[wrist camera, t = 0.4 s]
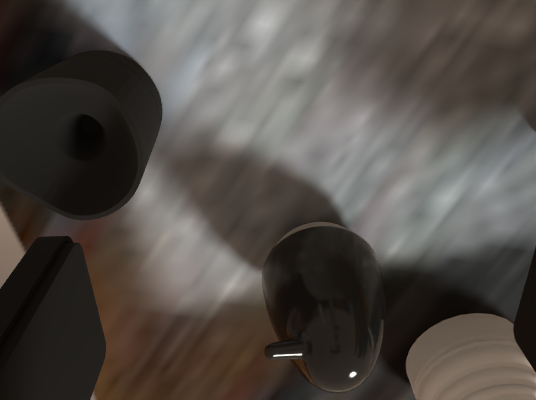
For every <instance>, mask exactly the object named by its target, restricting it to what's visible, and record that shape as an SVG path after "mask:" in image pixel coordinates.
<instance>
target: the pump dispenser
mask: <svg viewBox="0 0 536 400" xmlns="http://www.w3.org/2000/svg"><path fill="white" fill-rule="evenodd" d="M262 287H263V294H264V299H265V303H266V307H267V311H268V315H269V318H270V321H271V324H272V326H273V329H274V331H275V333H276V336H277V338H278V340H279V342H274V343H269V344H267V345H266V347H265V356H266V358H267V359H269V360H290V361H291V362H292V364H293V365H294V367H295V368H296V369H297V371H298V372H299V373H300V374H301V375H302V376H303V377H304V378H305V379H306V380H307V381H308V382H309V383H311V384H312V385H313V386H315V387H316V388H318V389H320V390H323V391H325V392H330V393H344V392H348V391H351V390H354V389H356V388H357V387H359V386H360V385H361V384H363V383H364V382H365V381H366V379H367V378H368V377H369V375H370V374H371V372H372V370H373V368H374V366H375V364H376V361H377V359H378V356H379V352H380V349H381V344H382V340H383V334H384V326H385V293H384V285H383V279H382V273H381V269H380V265H379V262H378V259H377V257H376V255H375V253H374V251H373V249H372V248H371V246H370V245H369V244H368V243H367V242H366V241H365V240H364V239H363V238H361V237H360V236H359V235H357V234H355V233H353V232H352V231H351V230H349V229H347V228H345V227H343V226H341V225H338V224H334V223H329V222H312V223H307V224H304V225H301V226H298V227H296V228H294V229H293V230H291V231H289V232H288V233H287V234H285V235H284V236H283V237H282V238H281V239H280V240H279V241H278V243H277V244H276V245H275V247H274V248H273V249H272V251H271V252H270V254H269V255H268V257H267V259H266V261H265V264H264V267H263V273H262Z"/></svg>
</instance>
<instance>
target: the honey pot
mask: <svg viewBox="0 0 536 400" xmlns="http://www.w3.org/2000/svg"><path fill="white" fill-rule="evenodd" d="M513 327H514V324H513V323H511V322H510V321H508V320H507V319H505V318H502V317H499V316H496V315H493V314H482V313H472V314H464V315H458V316H455V317H452V318H449V319H446V320H443V321H441V322H440V323H438V324H436V325H434V326H432V327H430V328H429V329H428V330H427V331H425V332H424V333H423V334H422V335H421V336H420V337H418V338H417V340H416V341H415V343H414V344H413V345H412V347H411V348H410V350H409V353H408V356H407V359H406V372H407V375H408V378H409V381H410V384H411V387H412V390H413V392H414V395H415V398H416V400H536V373H535V371H534V369H533V368H532V366H531V365H530V363H529V362H528V360H527V359H526V357H525V355H524V354H523V352H522V351H521V349H520V348H519V346H518V345H517V343H516V341H515V338H514V333H513Z"/></svg>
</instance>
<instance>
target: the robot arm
mask: <svg viewBox="0 0 536 400" xmlns="http://www.w3.org/2000/svg"><path fill="white" fill-rule="evenodd" d="M513 333H514V338H515V341H516V343H517V345H518V346H519V348H520V349H521V351H522V352H523V354H524V355H525V357H526V359H527V360H528V362H529V363H530V365H531V366H532V368H533V369H534V371H535V373H536V248H535V252H534V255H533V259H532V262H531V266H530V269H529V273H528V276H527V280H526V283H525V287H524V290H523V294H522V297H521V301H520V304H519V308H518V311H517V315H516V319H515V322H514V327H513ZM105 353H106V342H105V337H104V333H103V329H102V325H101V321H100V317H99V313H98V309H97V305H96V301H95V297H94V293H93V289H92V285H91V281H90V277H89V273H88V269H87V265H86V261H85V257H84V253H83V249H82V246H81V245H80V243H73V241H72V239H71V238H70V237H69V236H50V237H38V238H37V239H36V240H35V241H34V242H33V244H32V245H31V247H30V248H29V249H28V251H27V252H26V254H25V255H24V256H23V258H22V259H21V261H20V262H19V263H18V265H17V266H16V268H15V269H14V270H13V272H12V273H11V275H10V276H9V278H8V279H7V280H6V282H5V283H4V284H3V286H2V287H1V289H0V400H90V398H91V396H92V393H93V390H94V387H95V384H96V382H97V379H98V376H99V373H100V370H101V367H102V365H103V362H104V358H105Z"/></svg>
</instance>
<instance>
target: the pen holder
mask: <svg viewBox="0 0 536 400" xmlns="http://www.w3.org/2000/svg"><path fill="white" fill-rule="evenodd" d="M161 121H162V103H161V98H160V95H159V92H158V90H157V88H156V86H155V84H154V82H153V81H152V79H151V78H150V76H149V75H148V74H147V73H146V72H145V71H144V70H143V69H142V68H141V67H140V66H139V65H138V64H136V63H135V62H134V61H132V60H130V59H129V58H127V57H125V56H122V55H120V54H117V53H113V52H109V51H98V50H96V51H87V52H83V53H80V54H77V55H75V56H72V57H70V58H68V59H66V60H64V61H61V62H59V63H58V64H56V65H54V66H52V67H50V68H48V69H46V70H44V71H42V72H40V73H38V74H36V75H35V76H33V77H31V78H29V79H27V80H25V81H23V82H21V83H19V84H17V85H16V86H14V87H12V88H11V89H9V90H8V91H7V92H5V93H4V94H3V95H2V96H1V97H0V178H1V179H2V180H3V182H5V183H6V184H7V185H9V186H10V187H11V188H13V189H14V190H16V191H18V192H19V193H21V194H23V195H25V196H27V197H29V198H31V199H33V200H35V201H37V202H39V203H41V204H42V205H44V206H46V207H48V208H49V209H51V210H53V211H55V212H57V213H59V214H61V215H63V216H65V217H68V218H71V219H76V220H92V219H98V218H101V217H104V216H107V215H109V214H111V213H113V212H115V211H117V210H118V209H120V208H121V207H123V206H124V205H125V204H126V203H127V202H128V201H129V200H130V199H131V198H132V196H133V195H134V194H135V192H136V190H137V188H138V186H139V184H140V181H141V179H142V176H143V173H144V171H145V168H146V165H147V163H148V160H149V157H150V155H151V152H152V149H153V146H154V144H155V141H156V138H157V135H158V132H159V129H160V125H161Z"/></svg>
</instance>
